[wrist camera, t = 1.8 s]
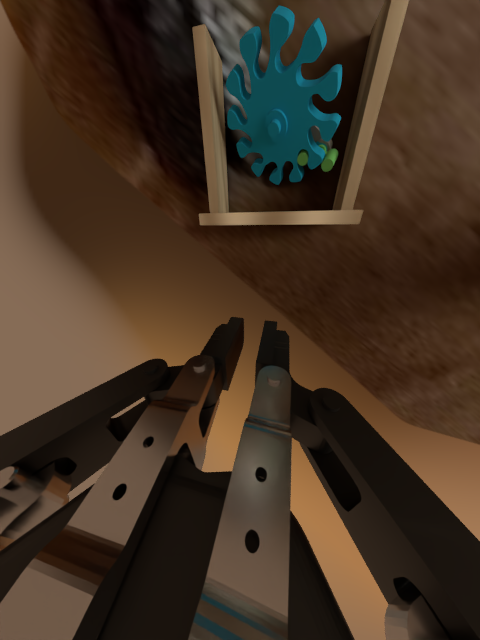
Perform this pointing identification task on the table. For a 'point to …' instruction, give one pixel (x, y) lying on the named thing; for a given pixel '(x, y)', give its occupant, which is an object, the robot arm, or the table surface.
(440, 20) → the table surface
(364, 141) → the tan open box
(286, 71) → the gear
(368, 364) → the table surface
